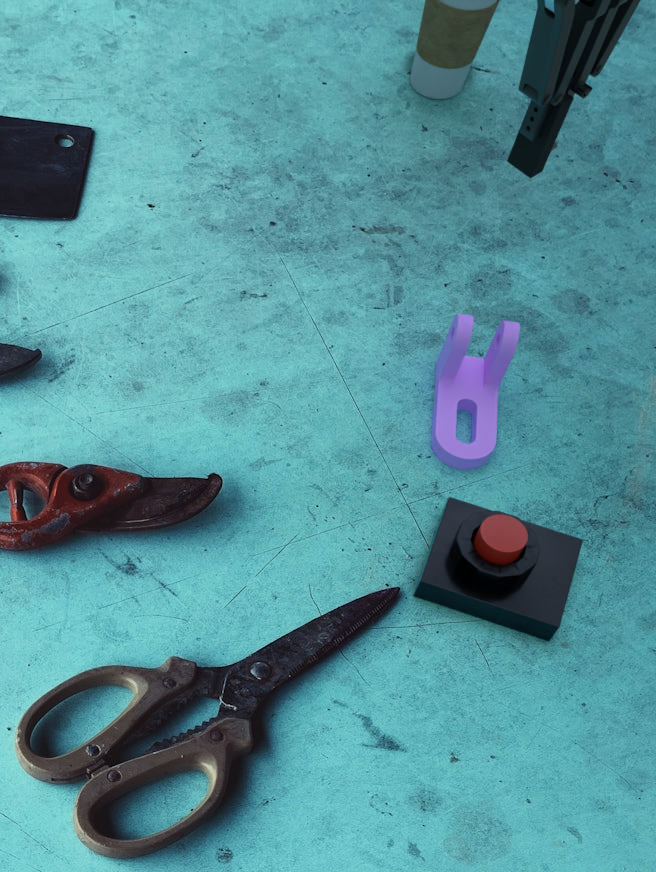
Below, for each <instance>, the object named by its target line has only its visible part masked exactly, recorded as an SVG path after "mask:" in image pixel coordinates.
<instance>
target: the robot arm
mask: <svg viewBox="0 0 656 872" xmlns="http://www.w3.org/2000/svg"><path fill="white" fill-rule="evenodd" d="M641 1H642V0H536V4H537V8H536V12H535V15H534V16H535V17H534V21H533V25H532V30H531V34H530V38H529V41H528V46H527V50H526V55H525V57H524V58H525V59H524V62H523V67H522V72H521V76H520V81H519V83H518V91H519V92H520V93H522V94H523V95H525V96H526V97H528V98H529V99H530V102H529V105H528V107H527V110H526V112H525V115H524V117H523V120H522V122H521V124H520V127H519V130H518V131H517V135H516V137H515V139H514V142H513V144H512V147H511V150H510V152H509V154H508V157H507V160H506V162H507V163H508V164H510V165H511V166H512V167H514V168H515V169H517V170H518V171H520V172H521V173H522V174H523V175H525V176H526V177H527V178H529V179H532V178H534V177H536V176H538V175H539V174H540V173H542V172H543V171H544V169H545V166H546V164H547V161H548V159H549V157H550V154H551V152H552V151H553V147H554V146H555V144H556V140H557V138H558V136H559V134H560V131H561V129H562V127H563V124H564V122H565V119H566V117H567V116H568V113H569V110H570V108H571V106H572V103H573V101H574V99H575V94H576V95H577V96H579V97H580V98H581V99H586V98H587V97H588V96H589V95H590V93H591V92H592V90H593V87H592V86H591V85H589V84H588V83H587V82H588V78H589V76H591V77H593V78H596V77H598V76H599V75H600V74H601V72H602V70H603V69H604V68H605V66H606V64H607V62H608V60H609V58H610V56H611V55H612V53H613V51H614V50H615V48H616V46H617V44H618V42H619V40H620V38H621V37H622V35H623V34H624V32H625V29H626V28H627V26H628V24H629V22H630V21H631V19H632V17H633V14H634V13H635V12H636V10H637V7H638V6H639V4H640V2H641Z"/></svg>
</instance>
